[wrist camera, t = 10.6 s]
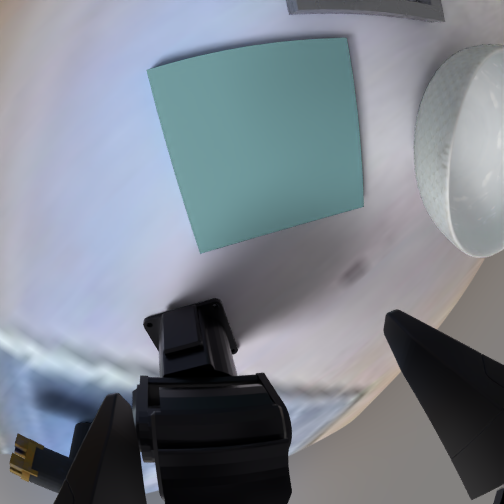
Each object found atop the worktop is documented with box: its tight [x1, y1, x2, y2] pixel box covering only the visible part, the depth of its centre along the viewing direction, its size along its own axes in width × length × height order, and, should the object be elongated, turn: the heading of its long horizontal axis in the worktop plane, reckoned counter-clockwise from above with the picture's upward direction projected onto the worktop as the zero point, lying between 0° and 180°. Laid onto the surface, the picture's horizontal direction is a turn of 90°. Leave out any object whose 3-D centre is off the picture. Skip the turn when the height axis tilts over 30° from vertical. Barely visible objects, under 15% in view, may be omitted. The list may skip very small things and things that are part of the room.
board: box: [147, 38, 364, 254], centre depth 18 cm, size 12×12×1 cm
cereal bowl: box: [413, 44, 504, 258], centre depth 18 cm, size 17×17×7 cm
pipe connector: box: [10, 423, 91, 493], centre depth 22 cm, size 12×5×15 cm, turn 53°
